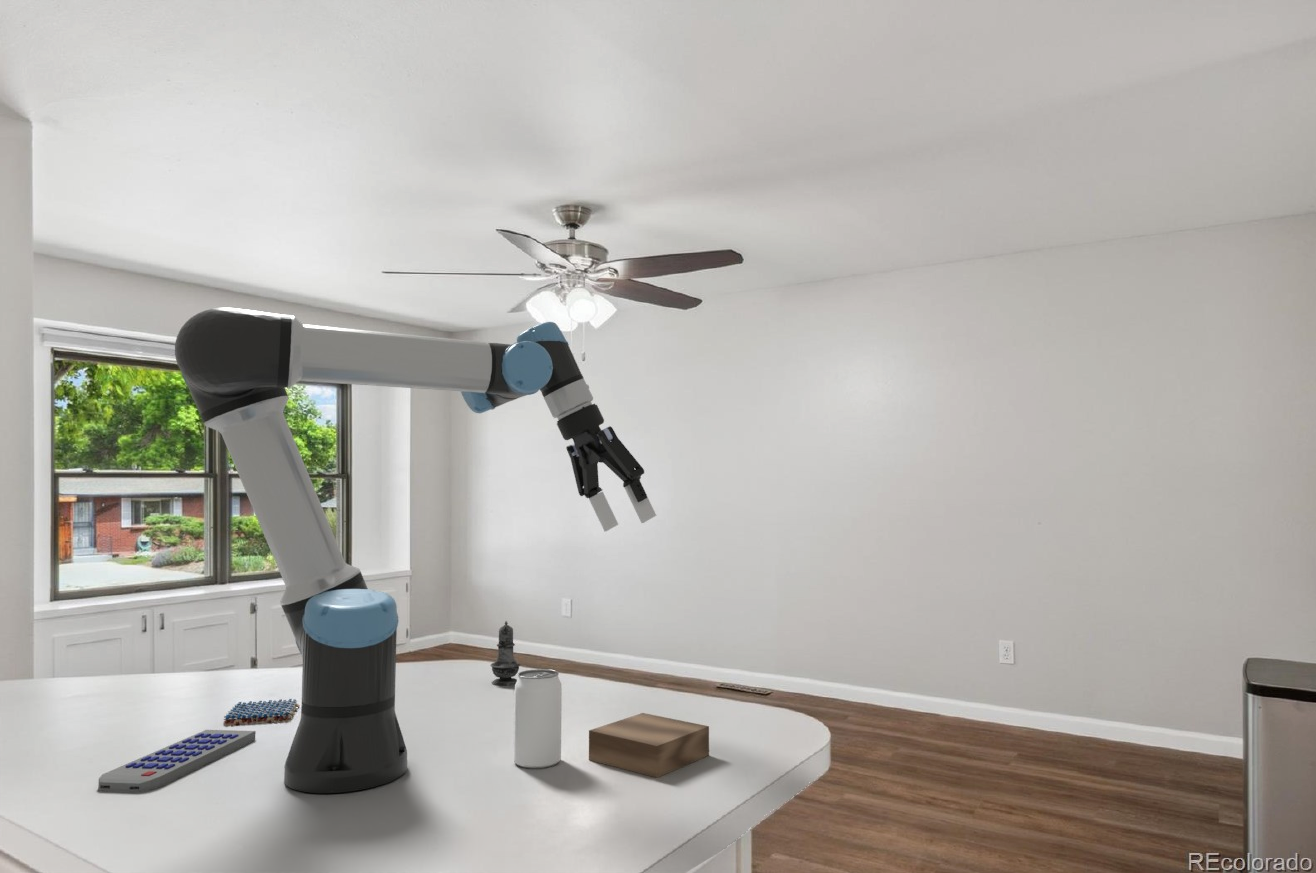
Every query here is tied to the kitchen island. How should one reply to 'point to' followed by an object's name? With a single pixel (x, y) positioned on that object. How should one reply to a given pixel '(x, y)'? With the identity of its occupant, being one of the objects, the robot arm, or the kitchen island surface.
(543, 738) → the can
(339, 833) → the kitchen island surface
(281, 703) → the woven mat
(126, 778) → the remote control
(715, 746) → the kitchen island surface
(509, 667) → the salt shaker
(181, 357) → the robot arm
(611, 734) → the walnut stand
